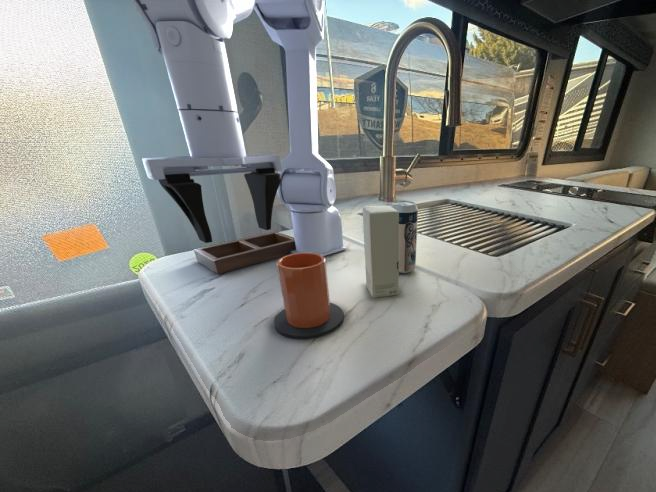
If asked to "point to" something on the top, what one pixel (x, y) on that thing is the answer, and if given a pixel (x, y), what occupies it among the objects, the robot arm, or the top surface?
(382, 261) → the box
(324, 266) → the cup
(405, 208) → the beer can
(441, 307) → the top surface
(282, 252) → the cup holder
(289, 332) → the coaster
